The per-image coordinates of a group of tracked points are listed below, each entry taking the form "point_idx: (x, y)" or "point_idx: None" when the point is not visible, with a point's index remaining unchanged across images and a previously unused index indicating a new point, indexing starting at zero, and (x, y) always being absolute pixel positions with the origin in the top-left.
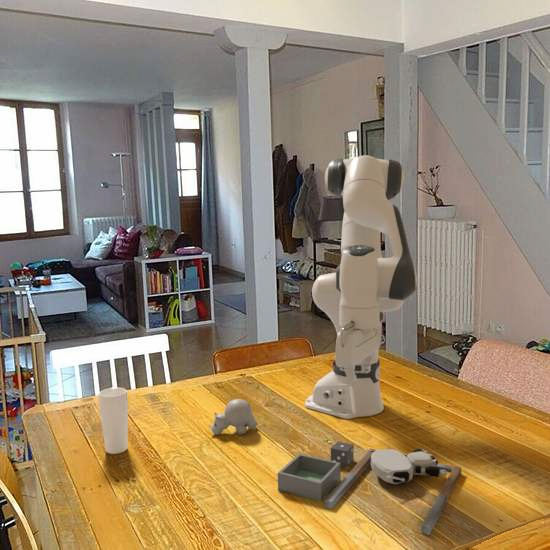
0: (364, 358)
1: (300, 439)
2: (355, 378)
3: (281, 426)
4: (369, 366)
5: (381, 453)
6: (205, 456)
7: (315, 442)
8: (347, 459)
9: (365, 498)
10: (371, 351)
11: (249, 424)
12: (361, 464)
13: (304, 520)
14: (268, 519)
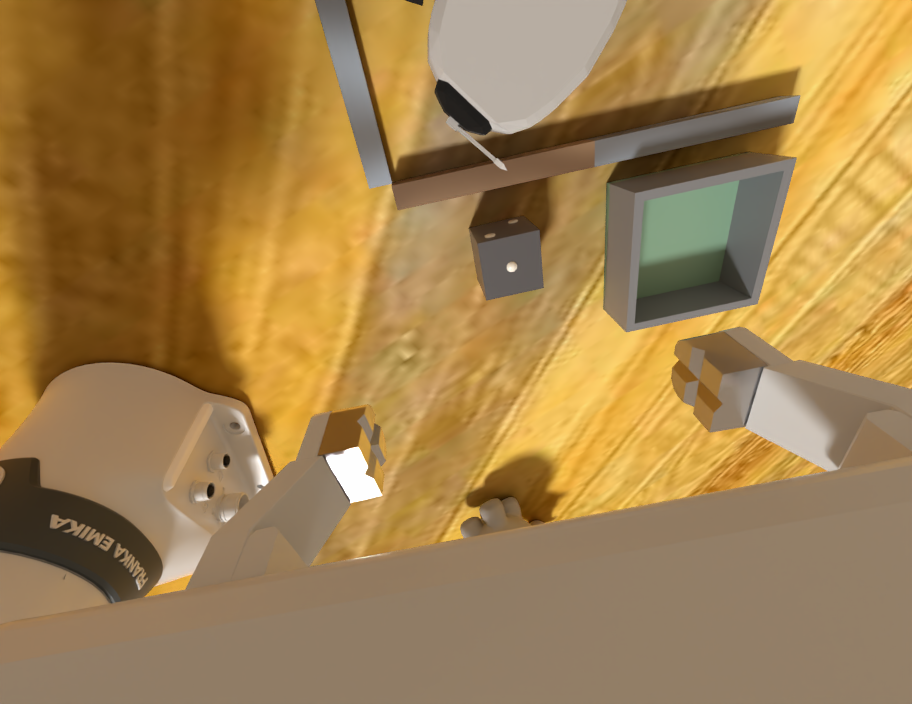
0: (666, 508)
1: (448, 409)
2: (729, 352)
3: (417, 476)
4: (331, 445)
5: (510, 85)
6: (631, 478)
7: (438, 375)
8: (525, 222)
9: (686, 31)
10: (343, 611)
11: (504, 511)
12: (524, 165)
13: (853, 128)
14: (859, 212)
